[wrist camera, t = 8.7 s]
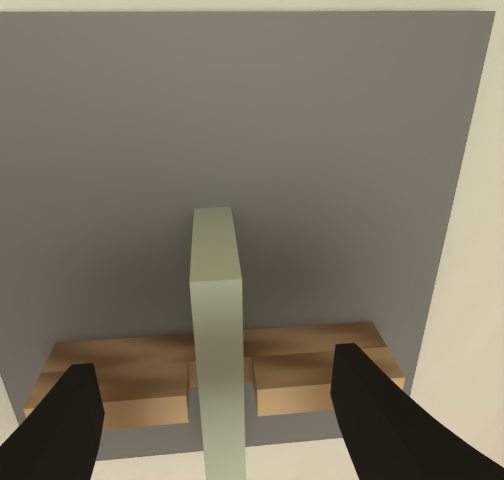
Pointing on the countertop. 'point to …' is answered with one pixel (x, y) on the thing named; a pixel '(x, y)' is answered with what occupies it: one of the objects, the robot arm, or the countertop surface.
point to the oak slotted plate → (185, 371)
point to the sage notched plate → (218, 341)
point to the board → (226, 180)
